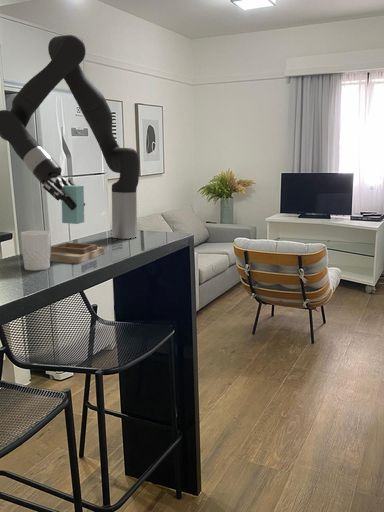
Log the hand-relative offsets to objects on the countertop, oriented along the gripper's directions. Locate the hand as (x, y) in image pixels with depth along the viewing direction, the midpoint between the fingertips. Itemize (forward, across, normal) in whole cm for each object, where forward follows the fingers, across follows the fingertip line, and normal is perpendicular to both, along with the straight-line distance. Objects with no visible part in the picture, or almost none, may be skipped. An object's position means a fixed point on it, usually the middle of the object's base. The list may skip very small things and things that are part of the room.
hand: (78, 207), depth 153 cm
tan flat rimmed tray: (+10, 0, +12) cm, 16 cm away
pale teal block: (+2, 0, +5) cm, 5 cm away
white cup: (+8, -17, +14) cm, 23 cm away
